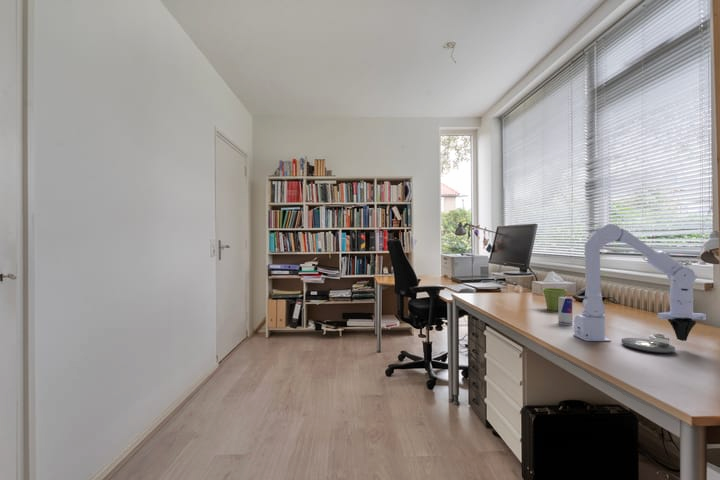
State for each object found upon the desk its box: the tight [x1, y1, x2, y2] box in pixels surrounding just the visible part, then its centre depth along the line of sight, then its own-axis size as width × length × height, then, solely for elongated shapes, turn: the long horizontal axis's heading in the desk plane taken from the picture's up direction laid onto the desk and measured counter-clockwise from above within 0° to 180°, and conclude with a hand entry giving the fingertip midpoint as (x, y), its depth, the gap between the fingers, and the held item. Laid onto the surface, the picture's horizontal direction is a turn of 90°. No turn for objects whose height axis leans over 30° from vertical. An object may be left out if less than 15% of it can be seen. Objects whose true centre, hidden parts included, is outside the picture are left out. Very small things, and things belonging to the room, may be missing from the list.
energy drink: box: [557, 296, 573, 326], centre depth 147 cm, size 5×5×12 cm
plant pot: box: [542, 287, 568, 312], centre depth 177 cm, size 12×12×11 cm
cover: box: [648, 333, 670, 346], centre depth 113 cm, size 5×5×3 cm
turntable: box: [620, 337, 676, 354], centre depth 113 cm, size 14×14×2 cm
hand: (681, 340), depth 113 cm, fingers closed
